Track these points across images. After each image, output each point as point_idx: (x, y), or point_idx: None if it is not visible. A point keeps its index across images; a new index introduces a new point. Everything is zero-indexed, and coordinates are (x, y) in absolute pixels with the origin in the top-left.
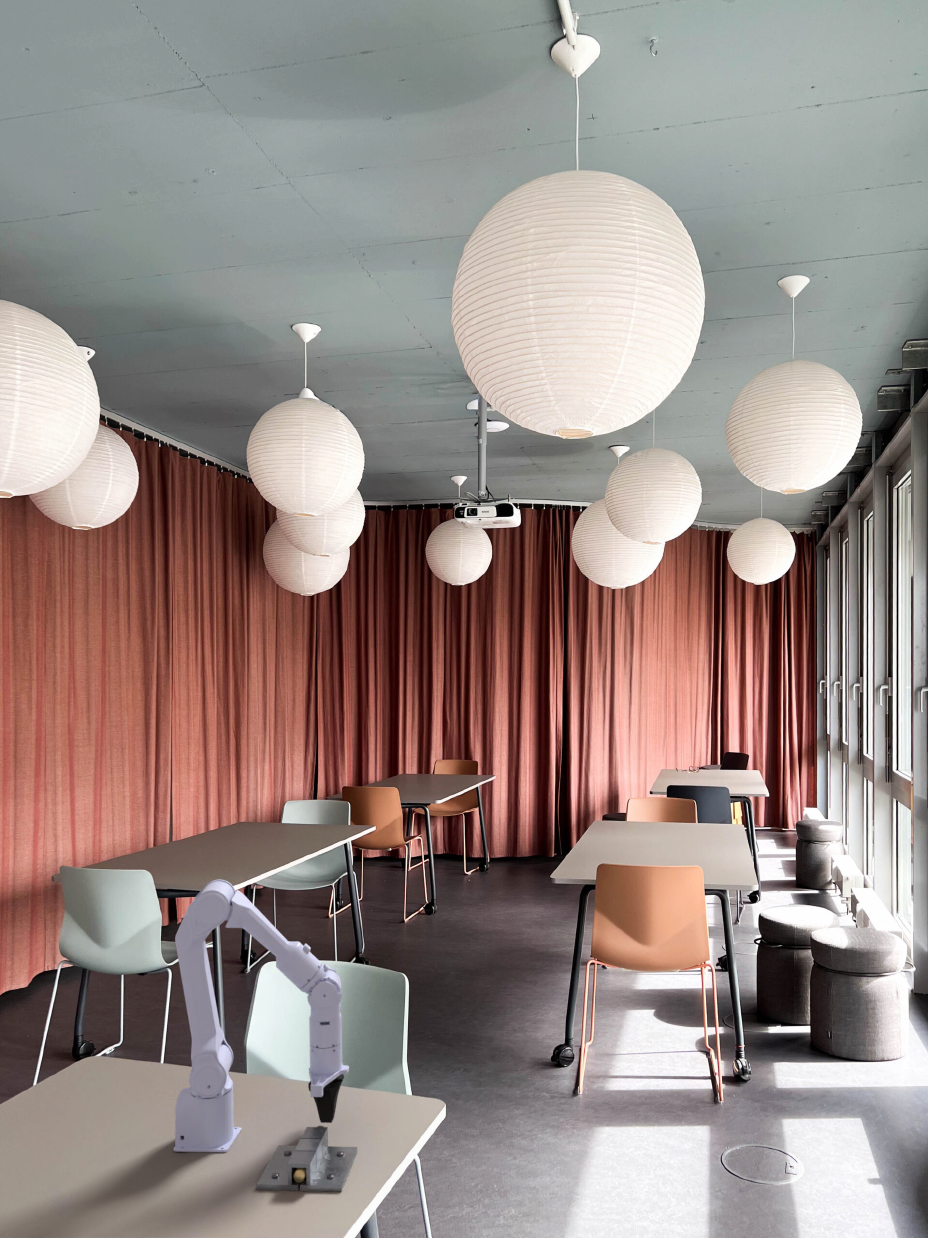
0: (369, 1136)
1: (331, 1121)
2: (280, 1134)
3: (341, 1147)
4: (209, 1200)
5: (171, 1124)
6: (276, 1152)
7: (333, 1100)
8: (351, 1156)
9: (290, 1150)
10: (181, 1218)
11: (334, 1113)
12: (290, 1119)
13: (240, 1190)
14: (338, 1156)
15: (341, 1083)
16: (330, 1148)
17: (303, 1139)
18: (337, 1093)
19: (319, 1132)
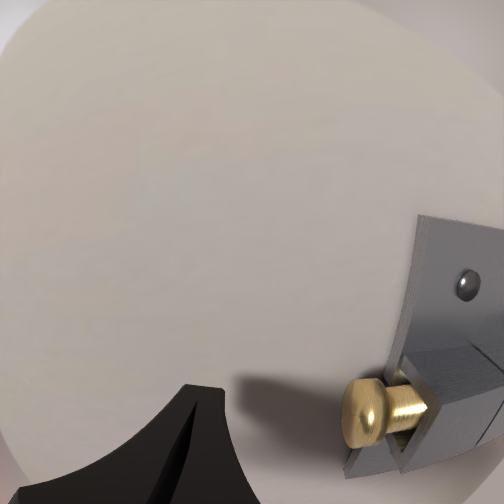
0: (253, 168)
1: (224, 394)
2: None
3: (423, 294)
4: (469, 469)
5: None
6: (385, 470)
7: (250, 492)
8: (486, 235)
9: (388, 450)
10: (488, 468)
11: (186, 402)
12: None
13: (469, 451)
14: (477, 290)
15: (53, 487)
16: (421, 339)
17: (485, 438)
18: (153, 488)
19: (471, 416)
